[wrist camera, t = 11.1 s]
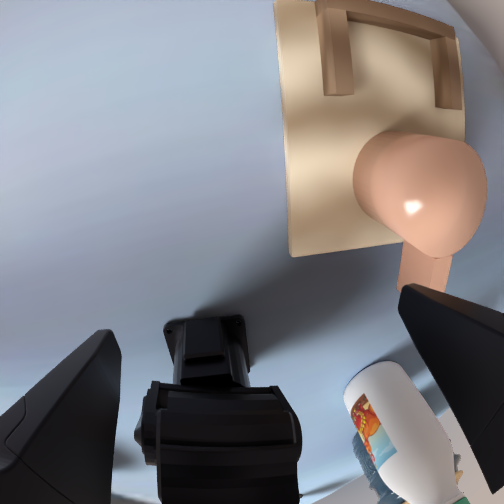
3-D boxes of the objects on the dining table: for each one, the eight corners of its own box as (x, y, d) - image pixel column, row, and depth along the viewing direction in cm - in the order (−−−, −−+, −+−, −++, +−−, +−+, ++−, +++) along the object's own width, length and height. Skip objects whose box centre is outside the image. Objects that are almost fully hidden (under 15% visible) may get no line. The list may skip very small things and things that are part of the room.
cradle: (449, 230, 24) (470, 242, 21) (288, 251, 22) (300, 270, 20) (450, 39, 17) (473, 35, 14) (273, 4, 15) (284, -13, 12)
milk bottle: (368, 354, 29) (464, 513, 10) (411, 362, 31) (498, 488, 13) (328, 402, 31) (393, 552, 13) (373, 405, 33) (438, 528, 15)
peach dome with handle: (352, 128, 18) (410, 135, 12) (428, 133, 19) (490, 145, 13) (347, 275, 23) (389, 324, 17) (417, 262, 24) (464, 300, 18)
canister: (435, 404, 38) (486, 481, 22) (377, 451, 41) (414, 528, 25) (402, 389, 33) (466, 491, 17) (333, 445, 36) (372, 544, 20)
